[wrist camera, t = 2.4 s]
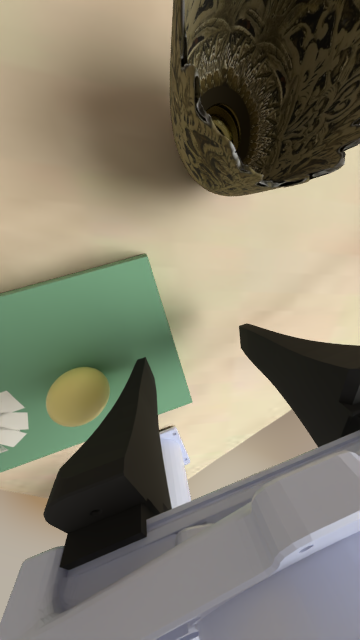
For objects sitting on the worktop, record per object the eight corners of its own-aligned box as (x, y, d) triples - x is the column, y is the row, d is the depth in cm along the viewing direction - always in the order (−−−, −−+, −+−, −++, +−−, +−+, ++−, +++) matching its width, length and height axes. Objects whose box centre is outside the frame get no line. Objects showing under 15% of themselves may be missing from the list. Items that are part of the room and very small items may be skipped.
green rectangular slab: (185, 380, 19) (192, 402, 16) (-16, 450, 17) (-45, 488, 14) (145, 253, 13) (147, 256, 10) (-181, 343, 11) (-286, 375, 8)
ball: (120, 384, 14) (114, 427, 10) (76, 398, 13) (56, 447, 10) (100, 349, 12) (86, 388, 9) (50, 366, 12) (16, 412, 8)
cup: (150, 208, 12) (166, 152, 5) (153, 41, 9) (215, -870, 2) (244, 222, 13) (362, 198, 6) (273, 87, 10) (561, -249, 3)
